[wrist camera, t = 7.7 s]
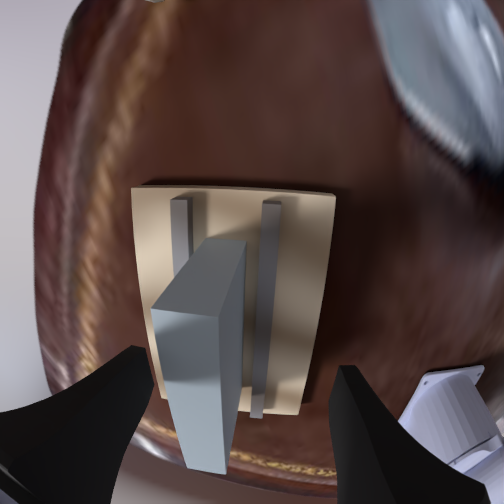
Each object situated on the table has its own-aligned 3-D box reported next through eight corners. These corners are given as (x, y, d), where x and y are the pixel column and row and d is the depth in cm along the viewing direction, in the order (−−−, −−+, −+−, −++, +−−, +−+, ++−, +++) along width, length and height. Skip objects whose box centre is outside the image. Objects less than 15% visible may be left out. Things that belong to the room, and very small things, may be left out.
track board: (297, 404, 23) (297, 423, 21) (165, 388, 24) (158, 405, 22) (332, 193, 16) (339, 200, 14) (139, 185, 17) (123, 190, 15)
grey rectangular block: (241, 387, 21) (225, 474, 13) (211, 384, 21) (187, 467, 14) (246, 240, 17) (218, 317, 9) (205, 237, 17) (150, 308, 9)
